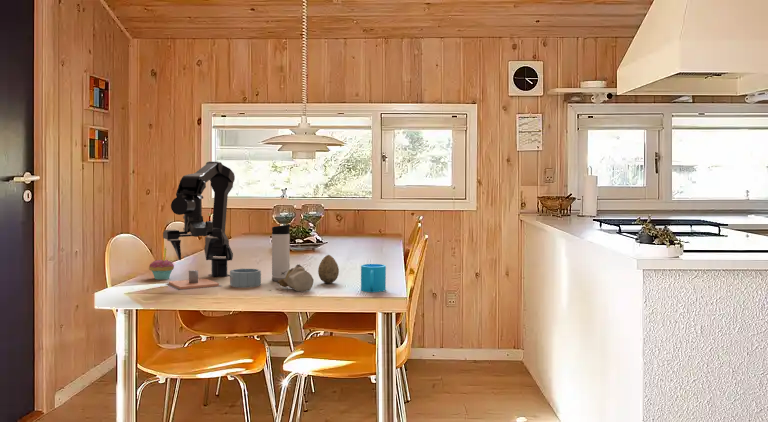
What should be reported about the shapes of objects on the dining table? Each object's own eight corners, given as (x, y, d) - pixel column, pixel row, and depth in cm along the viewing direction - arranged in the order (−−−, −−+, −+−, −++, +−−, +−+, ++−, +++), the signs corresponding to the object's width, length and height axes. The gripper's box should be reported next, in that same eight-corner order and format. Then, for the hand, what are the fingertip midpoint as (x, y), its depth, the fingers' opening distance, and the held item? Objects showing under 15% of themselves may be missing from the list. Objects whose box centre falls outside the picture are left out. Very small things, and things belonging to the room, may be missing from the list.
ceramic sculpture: (290, 266, 225) (274, 263, 238) (290, 294, 225) (274, 289, 238) (321, 265, 230) (304, 262, 243) (321, 291, 230) (304, 287, 243)
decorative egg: (320, 285, 243) (320, 256, 242) (316, 282, 250) (316, 253, 249) (340, 284, 245) (340, 255, 244) (336, 281, 252) (336, 253, 251)
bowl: (226, 285, 241) (226, 269, 241) (253, 282, 247) (253, 267, 247) (237, 289, 233) (237, 273, 233) (265, 286, 238) (265, 271, 238)
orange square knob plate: (168, 283, 241) (168, 269, 241) (205, 280, 248) (205, 267, 248) (180, 289, 230) (180, 274, 230) (218, 286, 237) (218, 271, 237)
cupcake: (179, 278, 256) (178, 245, 255) (164, 281, 248) (164, 247, 247) (159, 277, 259) (158, 244, 258) (143, 280, 251) (143, 246, 250)
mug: (362, 287, 239) (362, 263, 238) (386, 288, 238) (386, 264, 238) (358, 294, 227) (358, 268, 226) (384, 294, 226) (384, 269, 226)
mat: (164, 284, 241) (164, 283, 241) (207, 281, 250) (207, 280, 250) (178, 291, 229) (178, 290, 229) (222, 287, 237) (222, 286, 237)
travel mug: (287, 281, 250) (287, 225, 249) (269, 281, 251) (269, 224, 250) (292, 279, 256) (292, 223, 255) (275, 278, 257) (275, 223, 256)
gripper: (172, 215, 226) (172, 263, 227) (228, 213, 236) (228, 259, 237) (162, 213, 235) (162, 259, 236) (216, 211, 245) (216, 256, 246)
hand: (193, 259), depth 239 cm, fingers open, 9 cm apart
